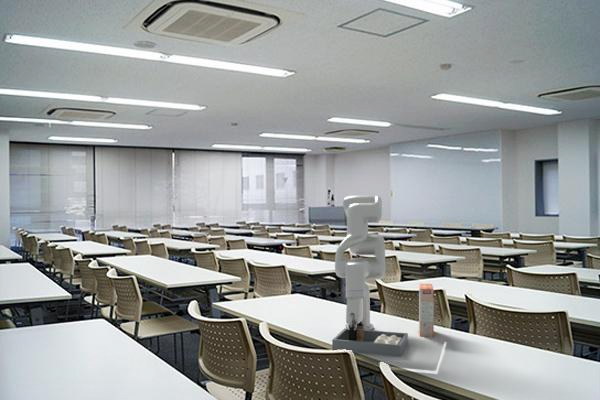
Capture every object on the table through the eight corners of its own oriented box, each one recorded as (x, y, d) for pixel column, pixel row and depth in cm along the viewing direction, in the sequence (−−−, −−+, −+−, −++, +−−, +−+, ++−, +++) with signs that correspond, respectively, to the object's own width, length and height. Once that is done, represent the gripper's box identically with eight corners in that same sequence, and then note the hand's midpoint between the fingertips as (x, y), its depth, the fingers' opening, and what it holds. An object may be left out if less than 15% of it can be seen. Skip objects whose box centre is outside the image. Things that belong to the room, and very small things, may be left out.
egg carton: (378, 343, 209) (378, 332, 209) (401, 345, 206) (401, 333, 205) (373, 351, 198) (372, 339, 198) (396, 353, 195) (396, 341, 195)
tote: (344, 340, 217) (344, 328, 217) (408, 345, 208) (407, 333, 208) (332, 352, 200) (332, 339, 200) (400, 359, 191) (400, 345, 191)
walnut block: (351, 342, 210) (351, 325, 210) (363, 344, 208) (363, 326, 208) (348, 346, 205) (348, 328, 205) (360, 347, 203) (360, 329, 203)
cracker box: (434, 339, 218) (434, 288, 218) (419, 338, 219) (419, 288, 219) (432, 330, 231) (432, 283, 231) (419, 329, 233) (418, 283, 233)
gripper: (351, 289, 215) (352, 330, 216) (340, 297, 199) (340, 342, 199) (369, 290, 213) (369, 332, 213) (359, 298, 197) (360, 343, 197)
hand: (355, 337), depth 206 cm, fingers open, 9 cm apart
